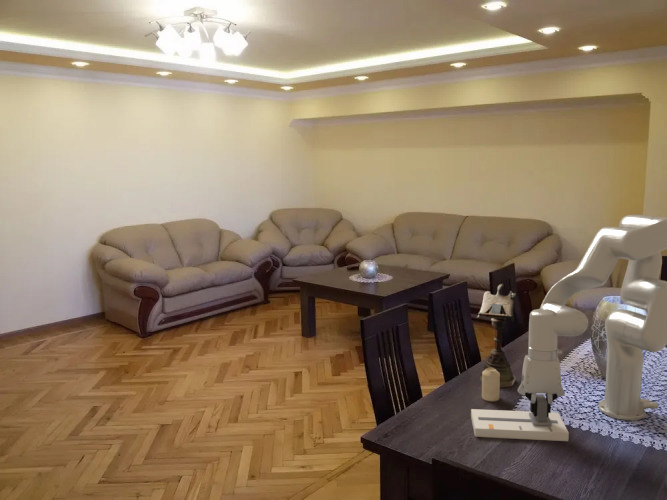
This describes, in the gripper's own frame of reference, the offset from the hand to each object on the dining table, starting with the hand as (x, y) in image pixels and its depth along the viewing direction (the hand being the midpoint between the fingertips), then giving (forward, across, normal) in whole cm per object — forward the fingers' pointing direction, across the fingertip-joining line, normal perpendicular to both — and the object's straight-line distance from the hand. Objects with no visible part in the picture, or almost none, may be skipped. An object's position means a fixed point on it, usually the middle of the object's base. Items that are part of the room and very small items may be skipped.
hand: (540, 414), depth 155 cm
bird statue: (+5, +7, -32) cm, 33 cm away
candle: (+5, +11, -20) cm, 23 cm away
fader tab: (+2, 0, 0) cm, 2 cm away
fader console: (+5, +6, 0) cm, 8 cm away
